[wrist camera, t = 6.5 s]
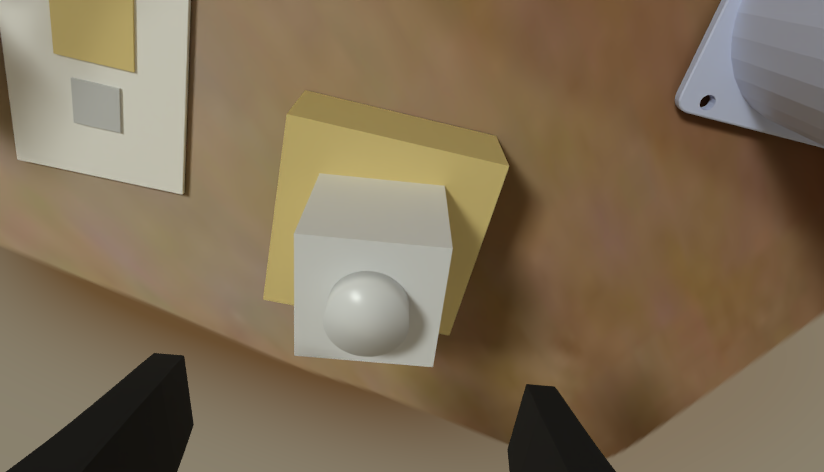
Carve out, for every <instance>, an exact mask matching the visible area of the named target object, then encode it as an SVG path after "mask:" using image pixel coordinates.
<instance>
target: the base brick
mask: <svg viewBox="0 0 824 472" xmlns="http://www.w3.org/2000/svg"><path fill="white" fill-rule="evenodd" d="M508 168H509V164H508V162H507V160H506V158H505V155H504V153H503V151H502V148H501V146H500V144H499V141H498V139H497V137H496V136H494V135H489V134H485V133H481V132H477V131H473V130H469V129H464V128H460V127H456V126H452V125H448V124H444V123H440V122H435V121H431V120H427V119H423V118H419V117H415V116H410V115H406V114H402V113H398V112H394V111H390V110H386V109H381V108H377V107H373V106H369V105H365V104H361V103H356V102H352V101H348V100H344V99H340V98H336V97H332V96H327V95H323V94H319V93H315V92H311V91H307V90H305V91H304V93H303V94H302V95H301V96H300V98H299V99H298V100H297V102H296V103H295V104H294V105H293V107H292V108H291V109H290V111H289V112H288V113H287V117H286V124H285V132H284V140H283V148H282V156H281V164H280V171H279V179H278V187H277V195H276V203H275V211H274V218H273V226H272V234H271V242H270V250H269V258H268V266H267V273H266V281H265V289H264V297H263V300H269V301H274V302H279V303H284V304H289V305H294V232H295V230H296V227H297V225H298V223H299V220H300V218H301V216H302V213H303V211H304V209H305V206H306V204H307V202H308V199H309V197H310V195H311V192H312V190H313V188H314V185H315V183H316V180H317V178H318V176H319V173H322V174H332V175H342V176H352V177H362V178H372V179H382V180H392V181H402V182H412V183H422V184H432V185H442V186H445V192H446V200H447V208H448V216H449V224H450V231H451V239H452V247H453V250H452V256H451V262H450V268H449V274H448V280H447V286H446V292H445V298H444V304H443V310H442V316H441V322H440V328H439V334H443V335H448V336H449V335H450V332H451V329H452V326H453V324H454V321H455V318H456V315H457V312H458V310H459V307H460V304H461V301H462V298H463V295H464V293H465V290H466V287H467V284H468V281H469V278H470V276H471V273H472V270H473V267H474V264H475V262H476V259H477V256H478V253H479V250H480V247H481V245H482V242H483V239H484V236H485V233H486V230H487V228H488V225H489V222H490V219H491V216H492V213H493V211H494V208H495V205H496V202H497V199H498V197H499V194H500V191H501V188H502V185H503V182H504V180H505V177H506V174H507V171H508Z"/></svg>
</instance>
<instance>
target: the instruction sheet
mask: <svg viewBox="0 0 824 472" xmlns="http://www.w3.org/2000/svg"><path fill="white" fill-rule="evenodd" d="M190 13H191V0H0V32H1V40H2V47H3V55H4V62H5V70H6V78H7V85H8V93H9V101H10V108H11V116H12V123H13V131H14V139H15V146H16V154H17V159H18V160H22V161H27V162H32V163H36V164H41V165H46V166H50V167H55V168H60V169H65V170H69V171H74V172H79V173H83V174H88V175H93V176H97V177H102V178H107V179H111V180H116V181H121V182H126V183H130V184H135V185H140V186H144V187H149V188H154V189H158V190H163V191H168V192H172V193H177V194H182V195H183V193H184V191H185V161H186V131H187V102H188V72H189V43H190Z"/></svg>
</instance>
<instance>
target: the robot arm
mask: <svg viewBox="0 0 824 472" xmlns="http://www.w3.org/2000/svg"><path fill="white" fill-rule="evenodd" d="M707 95H709V96H710V100H709V102H708V104H707V105H705V106H703V107H700V101H701V100H702V98H703V97H705V96H707ZM675 104H676V106H677V107H678V108H679V109H680V110H682V111H684V112H686V113H689V114H693V115H697V116H701V117H704V118H708V119H712V120H716V121H720V122H724V123H728V124H732V125H736V126H739V127H743V128H747V129H751V130H755V131H759V132H763V133H767V134H771V135H775V136H778V137H782V138H786V139H790V140H794V141H798V142H802V143H806V144H810V145H813V146H817V147H821V148H824V0H721V2H720V4H719V6H718V8H717V10H716V12H715V14H714V17H713V19H712V21H711V23H710V25H709V27H708V29H707V31H706V33H705V35H704V37H703V39H702V41H701V43H700V45H699V48H698V50H697V52H696V54H695V56H694V58H693V60H692V62H691V64H690V66H689V68H688V70H687V72H686V74H685V76H684V78H683V81H682V83H681V85H680V87H679V89H678V91H677V93H676V96H675ZM192 428H193V417H192V410H191V403H190V396H189V388H188V381H187V374H186V367H185V359H184V356H182V355H171V354H159V353H158V354H157V353H154V354H153V355H151V356H150V357H149V358H147V360H145V361H144V362H143V363H141V364H140V365H139V366H138V367H137V368H136V369H134V370H133V371H132V372H131V373H129V374H128V375H127V376H126V377H125V378H124V379H122V380H121V381H120V382H119V383H118V384H116V385H115V386H114V387H113V388H112V389H111V390H109V391H108V392H107V393H106V394H105V395H103V396H102V397H101V398H100V399H99V400H98V401H96V402H95V403H94V404H93V405H91V406H90V407H89V408H88V409H86V410H85V411H84V412H83V413H81V414H80V415H79V416H78V417H77V418H76V419H74V420H73V421H72V422H71V423H69V424H68V425H67V426H65V427H64V428H63V429H62V430H60V431H59V432H58V433H57V434H55V435H54V436H53V437H52V438H50V439H49V440H48V441H46V442H45V443H44V444H42V445H41V446H40V447H38V448H37V449H36V450H34V451H33V452H32V453H31V454H29V455H28V456H26V457H25V458H24V459H22V460H21V461H20V462H18V463H17V464H16V465H14V466H13V467H12V468H10V469H9V470H8V471H6V472H177V471H178V468H179V465H180V462H181V459H182V457H183V454H184V451H185V448H186V445H187V443H188V440H189V437H190V434H191V431H192ZM508 459H509V470H510V472H616V471H615V470H614V469H613V468H612V466H611V465H610V463H609V462H608V461H607V459H606V458H605V457H604V455H603V454H602V453H601V451H600V450H599V449H598V447H597V446H596V445H595V443H594V442H593V440H592V439H591V438H590V436H589V435H588V433H587V432H586V430H585V429H584V428H583V426H582V425H581V423H580V422H579V421H578V419H577V418H576V416H575V415H574V413H573V412H572V410H571V409H570V408H569V406H568V405H567V403H566V402H565V400H564V399H563V397H562V396H561V395H560V393H559V392H558V390H557V389H556V388H555V387H553V386H541V385H529V384H526V387H525V391H524V394H523V398H522V401H521V405H520V408H519V412H518V415H517V418H516V422H515V425H514V429H513V432H512V436H511V439H510V443H509V446H508Z"/></svg>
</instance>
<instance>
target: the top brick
mask: <svg viewBox="0 0 824 472" xmlns="http://www.w3.org/2000/svg"><path fill="white" fill-rule="evenodd" d="M452 250H453V247H452V239H451V231H450V224H449V216H448V208H447V200H446V192H445V186H442V185H432V184H422V183H412V182H402V181H392V180H382V179H372V178H362V177H352V176H342V175H332V174H322V173H319V176H318V178H317V180H316V183H315V185H314V188H313V190H312V192H311V195H310V197H309V199H308V202H307V204H306V206H305V209H304V211H303V213H302V216H301V218H300V220H299V223H298V225H297V227H296V230H295V232H294V356H306V357H318V358H330V359H342V360H354V361H366V362H378V363H390V364H402V365H414V366H426V367H433V364H434V358H435V352H436V346H437V340H438V334H439V328H440V322H441V316H442V310H443V304H444V298H445V292H446V286H447V280H448V274H449V268H450V262H451V256H452Z"/></svg>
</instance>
